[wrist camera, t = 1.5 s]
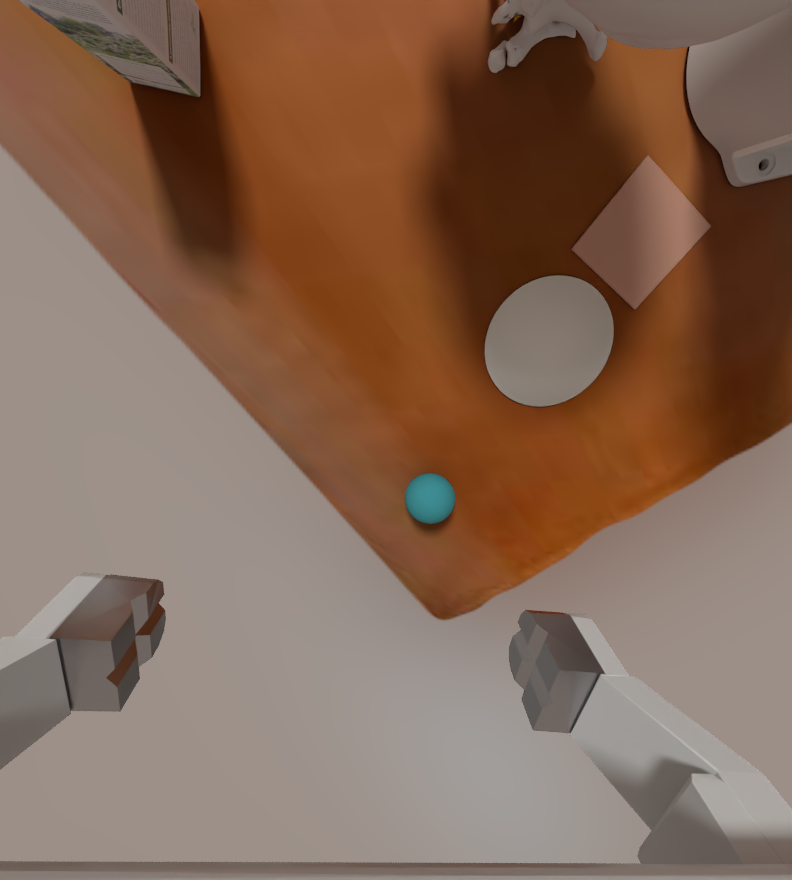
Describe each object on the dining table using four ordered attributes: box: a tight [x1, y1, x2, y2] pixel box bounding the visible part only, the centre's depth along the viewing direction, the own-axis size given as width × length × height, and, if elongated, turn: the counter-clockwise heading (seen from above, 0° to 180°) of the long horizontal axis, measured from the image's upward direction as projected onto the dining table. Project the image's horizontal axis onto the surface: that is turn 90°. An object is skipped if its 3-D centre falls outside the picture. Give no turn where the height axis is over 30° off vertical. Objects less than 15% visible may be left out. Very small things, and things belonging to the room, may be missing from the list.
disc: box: [485, 275, 614, 407], centre depth 40 cm, size 13×13×1 cm
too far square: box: [571, 155, 711, 310], centre depth 36 cm, size 9×9×1 cm
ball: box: [405, 473, 455, 524], centre depth 43 cm, size 6×6×6 cm
